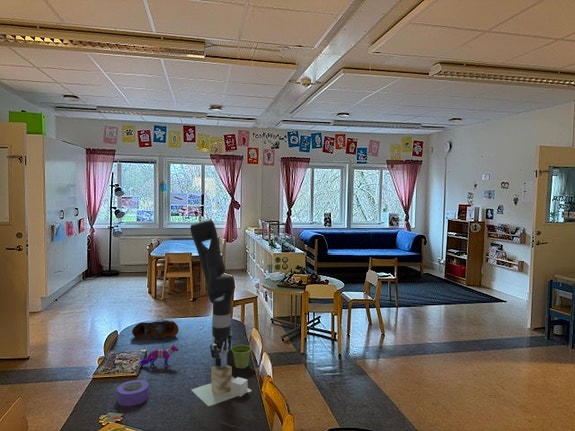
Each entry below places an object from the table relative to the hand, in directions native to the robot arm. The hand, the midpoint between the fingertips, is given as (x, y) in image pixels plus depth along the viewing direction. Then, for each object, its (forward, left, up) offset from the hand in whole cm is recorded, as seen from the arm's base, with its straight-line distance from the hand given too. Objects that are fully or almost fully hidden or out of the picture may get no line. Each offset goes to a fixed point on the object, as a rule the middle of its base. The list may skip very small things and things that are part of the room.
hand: (221, 363), depth 170 cm
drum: (0, 0, -1) cm, 1 cm away
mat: (0, 0, -12) cm, 12 cm away
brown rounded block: (-2, -79, -12) cm, 80 cm away
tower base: (0, 0, -12) cm, 12 cm away
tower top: (0, 0, -7) cm, 7 cm away
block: (-5, +6, -12) cm, 14 cm away
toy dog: (+12, -38, -12) cm, 42 cm away
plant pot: (-19, -15, -12) cm, 27 cm away
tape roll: (+31, -16, -12) cm, 37 cm away
